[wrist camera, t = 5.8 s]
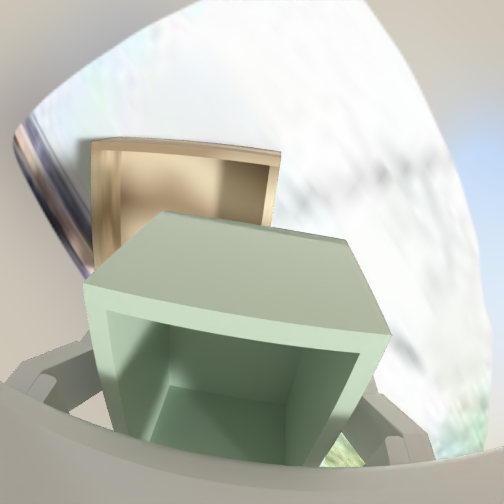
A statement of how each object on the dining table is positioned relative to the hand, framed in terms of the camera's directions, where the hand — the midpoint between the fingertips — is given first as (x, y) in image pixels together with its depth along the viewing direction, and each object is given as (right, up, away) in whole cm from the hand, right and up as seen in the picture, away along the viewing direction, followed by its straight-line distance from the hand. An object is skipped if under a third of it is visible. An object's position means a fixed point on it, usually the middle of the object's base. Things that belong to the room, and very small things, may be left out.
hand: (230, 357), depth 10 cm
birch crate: (-4, +6, +16) cm, 18 cm away
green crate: (0, +1, +2) cm, 2 cm away
